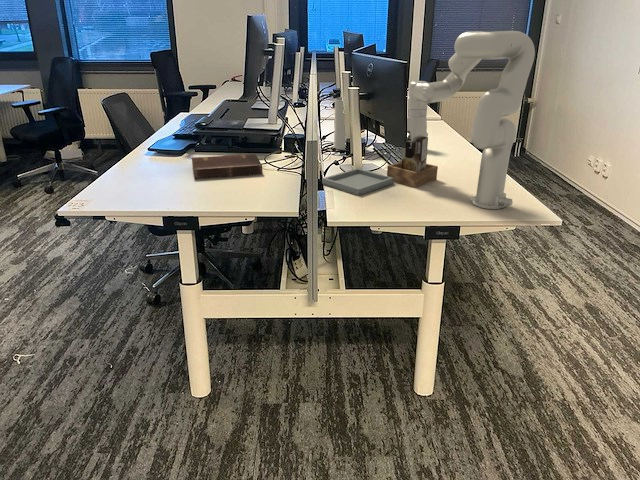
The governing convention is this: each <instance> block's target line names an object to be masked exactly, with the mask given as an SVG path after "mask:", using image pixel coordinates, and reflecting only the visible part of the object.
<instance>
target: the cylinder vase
mask: <svg viewBox="0 0 640 480" xmlns="http://www.w3.org/2000/svg"><path fill="white" fill-rule="evenodd" d="M342 97H343V96H339V97H336V98H335V99H334V130H333V131H334V138H333V139H334V141H333V147H334V148H335V149H336V150H339V151H347V150H346V149H345V130H344V113H343V101H342Z"/></svg>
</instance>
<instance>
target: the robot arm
mask: <svg viewBox="0 0 640 480" xmlns="http://www.w3.org/2000/svg"><path fill="white" fill-rule="evenodd" d="M454 42H455V43H454V47H453V48H454V54H453V55H451V57H450V58H449V59H448V65H447V66H448V67H449V70H450V73H449V74H448V75H447V76H446V78H444V79H442V81H439V80H438V81H433V82H428V81H425V80H413V81H411V82H410V83H409V89H408V90H409V91H408V97H409V103H408V119H407V147H406V150H405V157H407V158H412V153H413V149H412V146H413V143H414V142H415V141H416V139H420V138H422V137H428V136H429V133H428V131H427V129H428V128H427V127H428V125H427V121H428V119H427V115H428V113H427V111H428V104H433V103H438V102H445V101H448V100H449V99H451V98H452V97H454V96H455V94H457V93H458V92H459V91H460V89H461V88H462V87H463V86H464V84H465V82H466V78H467V75H468V74H469V73H470V72H471V71H472V70H473V69H474V68H475V67H476V66H477V65H478V64H479V63H480V62H481V61H482V60H503V59H508V61H507V63H506V65H505V67H504V68H503V70H502V73H501V76H500V80H499V83H498V87H497V88H493V89H490V90H488V91H486V92H485V93H483V94H482V96H481V97H480V99H479V101H478V103H477V107H476V110H475V115H474V118H473V122H472V124H471V125H472V126H471V131H470V140H471V143H472V145H473V146H474V147H475V148H477V149H479V150H483V151H482V153H481V159H480V164H479V165H480V166H479V173H478V178H477V179H478V180H477V187H476V195H475V196H473V197H472V198H471V200H470V201H471V204H472V205H473V206H475V207H478V208H481V209H488V210H500V209H503V208H506V206H510V207H511V206H513V202H514V201H513V198H509V197H507V193H505V187H506V181H507V180H506V179H507V174H508V168H509V162H510V157H511V150H512V147H513V146H514V142H515V138H516V133H517V130H516V126H515V123H514V122H513V121H512V120H511V119H509V118H506V117H509V116H512V115H515V114H516V113H517V112H518V111H519V109H520V107H521V103H522V100H523V97H524V94H525V90H526V86H527V83H528V79H529V77H530V73H531V69H532V67H533V64H534V61H535V55H536V50H535V45H534V42H533V40H532V39H531V37H529V35H527V34H526V33H524V32H522V31H518V30H503V31H502V30H499V31H498V30H497V31H483V30H482V31H481V30H475V31H474V30H473V31H470V30H469V31H464V32H463V33H461V34H460V35H459V36H457V38H456V40H455V41H454ZM409 139H411V141H410V140H409ZM409 142H410V143H411V144H409Z"/></svg>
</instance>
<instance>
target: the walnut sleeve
mask: <svg viewBox="0 0 640 480" xmlns="http://www.w3.org/2000/svg"><path fill="white" fill-rule="evenodd" d="M401 163H402V161H398V162H396V163H394V164H393V163H392V164H390V165H387V170H386V176H389V177H392V178H394V182H393V183H397V184H402V185H404V186H405V185H406V186H409V187H413V188H418V187H421V186H423V185H426V184H429V183H432V182H435V181H436V180H437V178H438V169H439V168H438V167H439V166H438V165H433V164H432V163H431V164H429V163H426V169H425V170H422V171H419V172H413V171H409V170H405V169H401Z"/></svg>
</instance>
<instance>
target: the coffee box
mask: <svg viewBox="0 0 640 480" xmlns="http://www.w3.org/2000/svg"><path fill="white" fill-rule="evenodd" d="M409 140H410V141H411V139H409ZM409 144H411V143H410V142H409ZM428 144H429V137H428V136H427V137H422V138H420V139H416V141H415V142H414V143H413V146H412V149H413V153H412V158H407V157H405V150H406V148H402V147H401V162H402V163H401V169H405V170H409V171H413V172H419V171H422V170H425V169H426V164H427V157H428Z"/></svg>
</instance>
